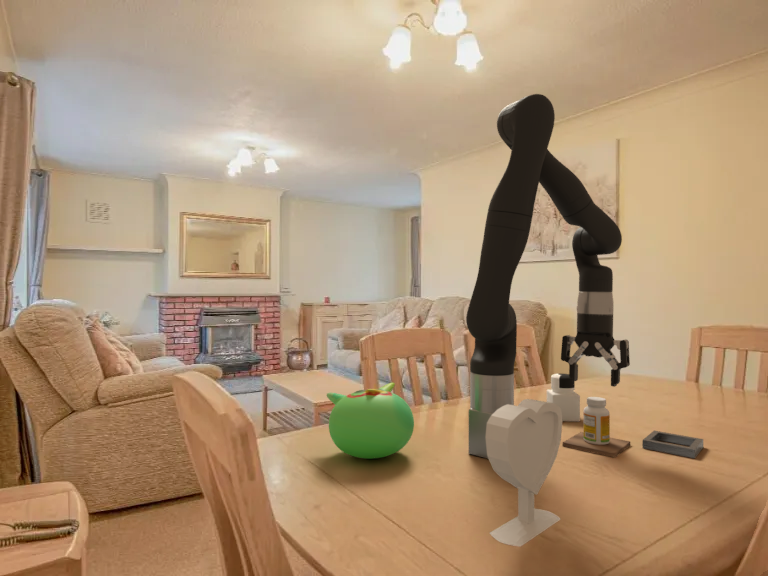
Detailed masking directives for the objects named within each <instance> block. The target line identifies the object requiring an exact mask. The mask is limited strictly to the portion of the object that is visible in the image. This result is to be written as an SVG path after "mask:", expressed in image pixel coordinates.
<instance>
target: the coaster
mask: <svg viewBox="0 0 768 576" xmlns="http://www.w3.org/2000/svg"><path fill="white" fill-rule="evenodd" d="M562 446H563V447H565V448H571V449H575V450H579V451H584V452H589V453H593V454H597V455H601V456H606V457H611V458H616V457H617V456H618V455H620V454H621V453H622V452H624V451H625V450H626V449H628V448H629V447H630V446H631V441H629V440H625V439H620V438H614V437H610V442H609V444H606V445H595V444H591V443H588V442H586V441H585V440H584V431H580V432H578V433H576V434H575V435H573V436H571V437H569V438H568V439H566V440H564V441H562Z"/></svg>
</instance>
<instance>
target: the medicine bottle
mask: <svg viewBox="0 0 768 576" xmlns="http://www.w3.org/2000/svg"><path fill="white" fill-rule="evenodd" d="M575 383H576V381H572V378H570V377H569V373H563V372H562V373H558V372H557V373H554V374H551V376H550V388H551V389H546V402H549V403H554V404H556V405H558V406H559V407H560V409H561V412H562V422H574V423H575V422H578V423H579V422H580V421H581V396H580V394H579V393H577V392H576V391H575V390H576V388H575V386H576V385H575Z"/></svg>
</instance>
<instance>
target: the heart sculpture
mask: <svg viewBox="0 0 768 576" xmlns="http://www.w3.org/2000/svg"><path fill="white" fill-rule="evenodd" d="M562 428H563V421H562V412H561V409H560V407H559V406H558V405H556V404H554V403H549V402H547V401H543V400H538V399H533V398H526V399H525V398H524V399H522V400H521V401H520V402H519V403H518V405H515V404H514V405H509V404H507V405H504V406H502V407H501V408H499V409H498V410H496V411H495V412H494V413H493V414H492V415H491V416H490V418H489V420H488V422H487V426H486V437H485V438H486V448H487V456H488V461H489V463H490V465H491V468H492V470H493V471H494V473H496V475H498V477H500V478H501V479H502V480H503V481H505V482H507V483H509V484H511V486H512V487H515V488H516V489H517V512H518V513H517V516H515V517H514V518H512V519H510V520H508V521H507V522H505V523H503V524H502V525H500V526H499V527H497V528H494V530H492V531H490V532H489V535H491V537H492V538H494V540H496V541H497V542H499V543H502V544H504V545H509V546H514V547H519V548H520V547H523V546H524V545H525V544H527V543H528V542H530V541H531V540H532V539H534V538H535V537H537V536H538V535H540V534H541V533H543V532H544V531H546V530H547V529H549V528H551V527H552V526H553V525H554V524H556V523H557V522H559V521H560V520H561V518H560V517H559V515H557V514H555V513H553V512H551V511H549V510H546V509H540V508H535V495H536V496H537V495H538V493H539V492H540V490H541V488H542V485H544V483H545V481H546V479H547V478H548V475H549V474H550V472H551V470H552V467H553V466H554V464H555V461H556V459H557V455H558V454H559V453H558V452H559V448H560V445H561V440H562V432H563V431H562V430H563V429H562Z"/></svg>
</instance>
